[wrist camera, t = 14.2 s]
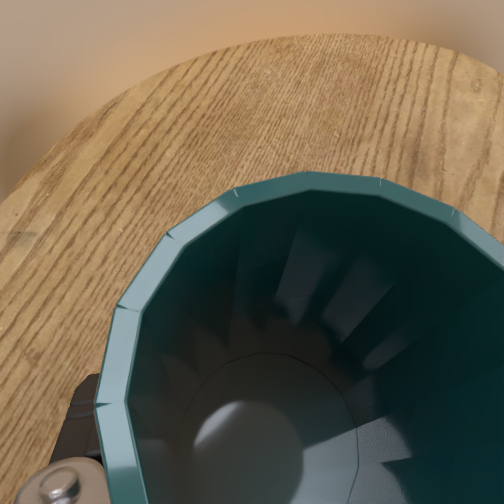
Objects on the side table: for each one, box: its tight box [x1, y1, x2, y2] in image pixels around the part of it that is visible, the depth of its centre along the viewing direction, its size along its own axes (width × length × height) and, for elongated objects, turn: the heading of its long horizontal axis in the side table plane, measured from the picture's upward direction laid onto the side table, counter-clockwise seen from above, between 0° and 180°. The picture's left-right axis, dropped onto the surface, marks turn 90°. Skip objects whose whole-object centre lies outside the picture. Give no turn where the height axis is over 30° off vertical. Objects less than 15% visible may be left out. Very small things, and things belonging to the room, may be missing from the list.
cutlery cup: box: [94, 171, 504, 504], centre depth 10 cm, size 6×6×10 cm
